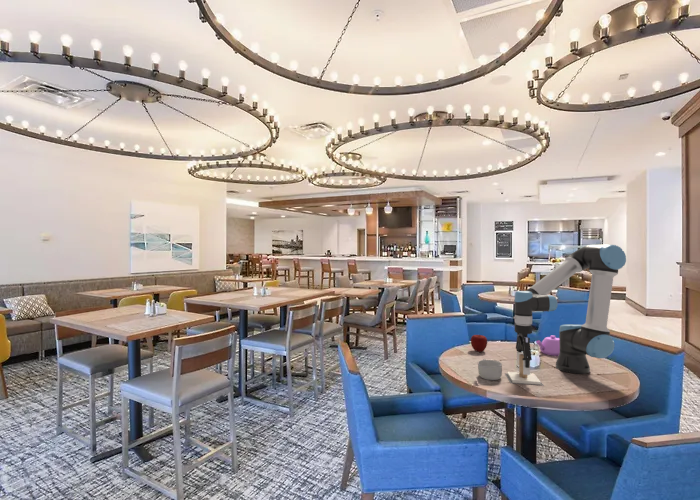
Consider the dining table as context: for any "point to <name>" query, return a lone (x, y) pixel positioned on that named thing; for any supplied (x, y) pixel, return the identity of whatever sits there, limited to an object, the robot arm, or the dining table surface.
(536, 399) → the dining table surface
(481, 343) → the apple
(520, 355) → the lid
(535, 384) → the mat
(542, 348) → the teapot
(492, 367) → the teacup
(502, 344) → the dining table surface
